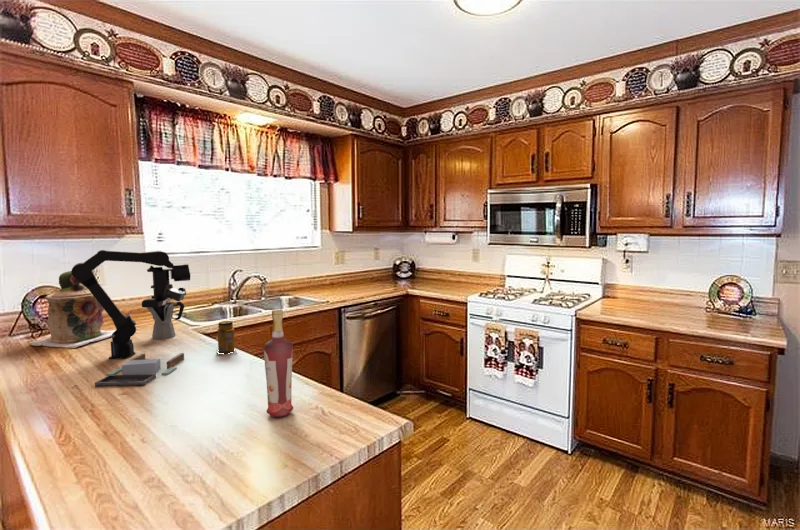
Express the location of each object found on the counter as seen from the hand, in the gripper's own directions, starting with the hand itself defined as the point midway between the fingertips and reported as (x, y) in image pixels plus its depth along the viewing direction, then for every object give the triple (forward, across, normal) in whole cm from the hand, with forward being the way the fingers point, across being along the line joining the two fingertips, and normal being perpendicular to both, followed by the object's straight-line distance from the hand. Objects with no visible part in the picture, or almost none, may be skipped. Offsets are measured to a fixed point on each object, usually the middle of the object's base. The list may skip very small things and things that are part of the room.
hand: (163, 320), depth 168 cm
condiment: (+12, -4, -26) cm, 29 cm away
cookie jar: (+12, +17, +47) cm, 52 cm away
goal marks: (+12, -26, -6) cm, 30 cm away
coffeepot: (+12, +21, +10) cm, 26 cm away
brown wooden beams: (+12, -18, -6) cm, 22 cm away
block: (+12, -26, -6) cm, 30 cm away
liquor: (+12, -60, -62) cm, 87 cm away
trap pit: (+12, -35, -6) cm, 38 cm away
